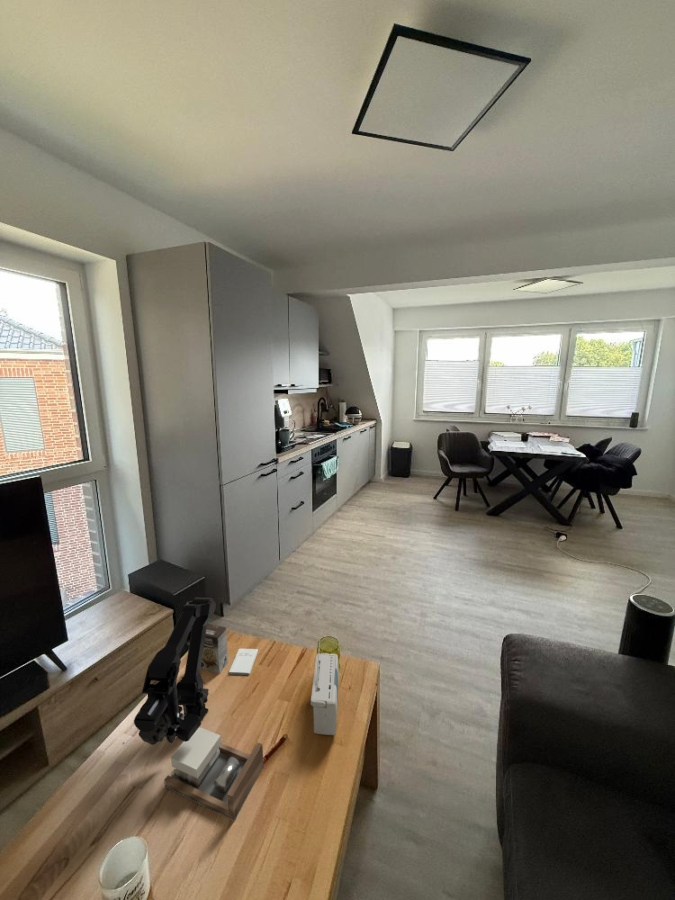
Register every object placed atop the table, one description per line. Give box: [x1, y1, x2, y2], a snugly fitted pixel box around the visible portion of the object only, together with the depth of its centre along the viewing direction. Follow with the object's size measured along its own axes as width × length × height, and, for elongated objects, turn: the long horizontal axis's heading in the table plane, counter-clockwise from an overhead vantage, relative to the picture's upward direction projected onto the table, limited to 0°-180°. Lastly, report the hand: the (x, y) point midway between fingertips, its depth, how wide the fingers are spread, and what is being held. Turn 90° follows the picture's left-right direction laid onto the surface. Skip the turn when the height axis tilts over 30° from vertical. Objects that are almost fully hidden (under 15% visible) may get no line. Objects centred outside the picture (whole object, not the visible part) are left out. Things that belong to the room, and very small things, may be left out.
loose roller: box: [214, 757, 240, 793], centre depth 100 cm, size 4×6×4 cm, turn 160°
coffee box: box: [200, 623, 229, 674], centre depth 140 cm, size 9×6×16 cm
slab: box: [170, 726, 222, 779], centre depth 103 cm, size 9×10×3 cm
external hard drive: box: [228, 648, 259, 676], centre depth 143 cm, size 2×8×12 cm
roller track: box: [164, 741, 264, 822], centre depth 101 cm, size 23×14×8 cm, turn 70°
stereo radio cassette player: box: [310, 639, 340, 736], centre depth 121 cm, size 21×8×20 cm, turn 178°
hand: (171, 742), depth 106 cm, fingers closed
